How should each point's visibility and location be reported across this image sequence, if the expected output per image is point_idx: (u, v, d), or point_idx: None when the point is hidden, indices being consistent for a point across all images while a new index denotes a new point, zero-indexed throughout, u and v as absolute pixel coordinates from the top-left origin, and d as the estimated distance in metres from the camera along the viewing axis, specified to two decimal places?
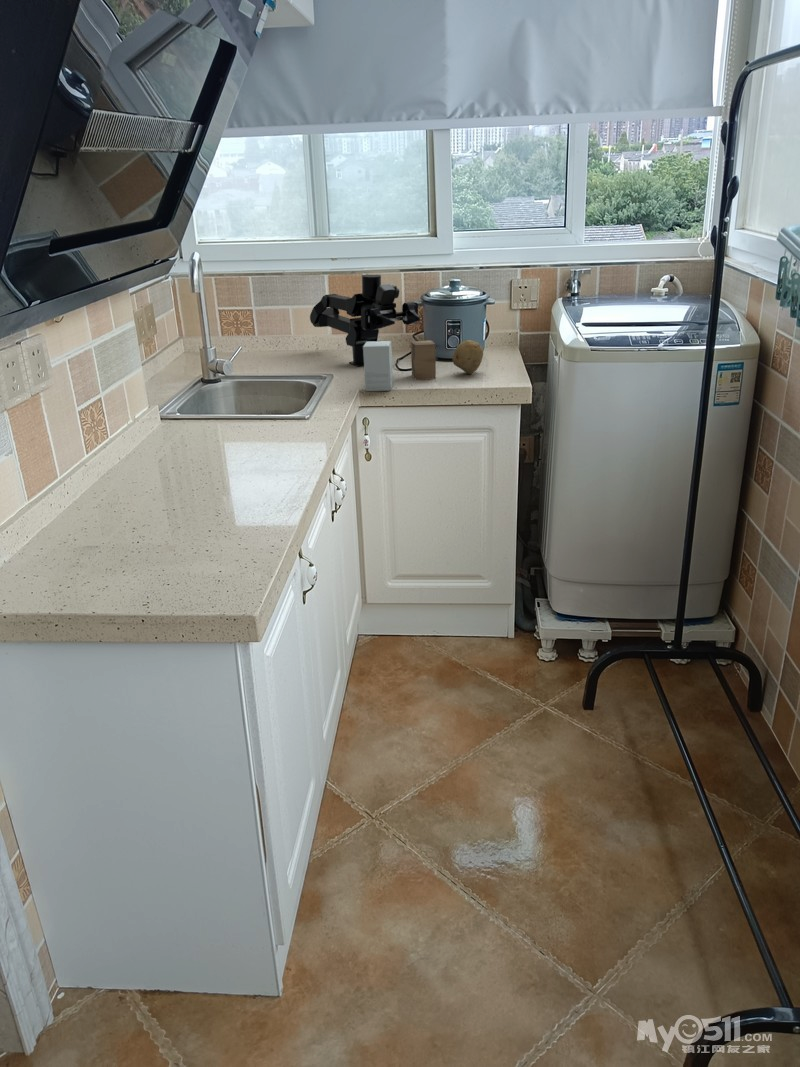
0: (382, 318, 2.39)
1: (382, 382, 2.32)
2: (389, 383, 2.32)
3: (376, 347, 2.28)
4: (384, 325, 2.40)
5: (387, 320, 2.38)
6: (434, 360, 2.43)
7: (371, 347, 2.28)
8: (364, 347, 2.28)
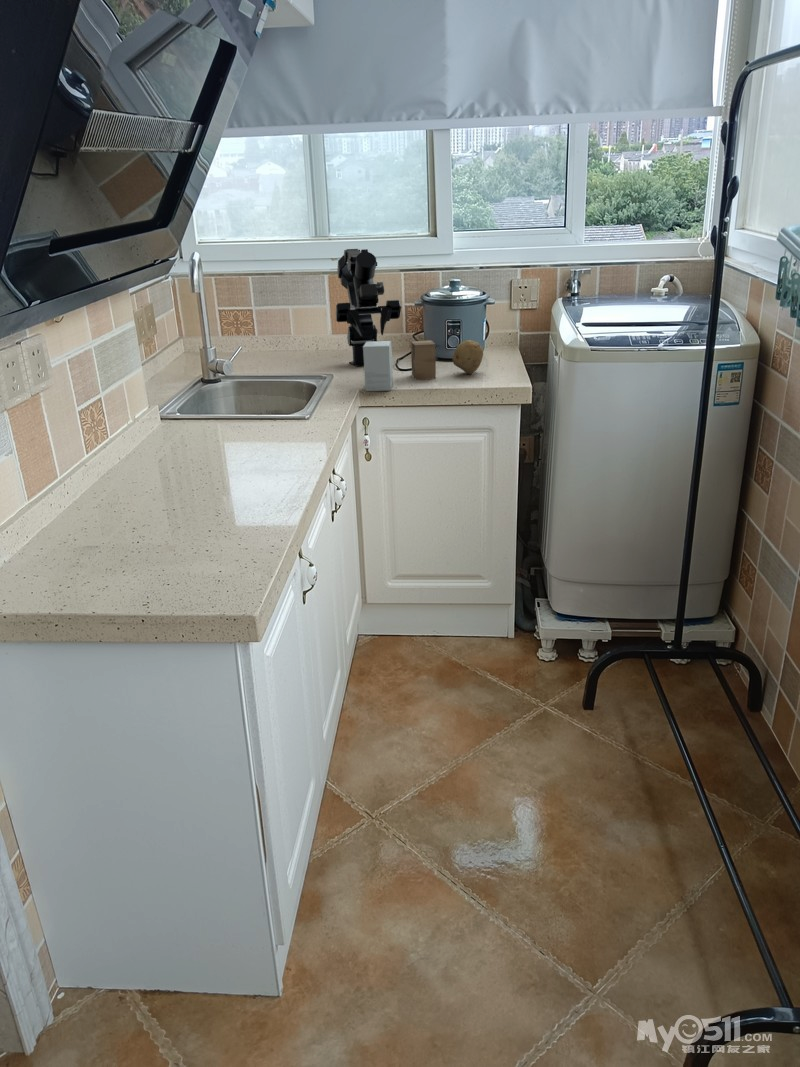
0: (356, 324, 2.40)
1: (382, 382, 2.32)
2: (389, 383, 2.32)
3: (376, 347, 2.28)
4: (357, 330, 2.41)
5: (359, 330, 2.39)
6: (434, 360, 2.43)
7: (371, 347, 2.28)
8: (364, 347, 2.28)
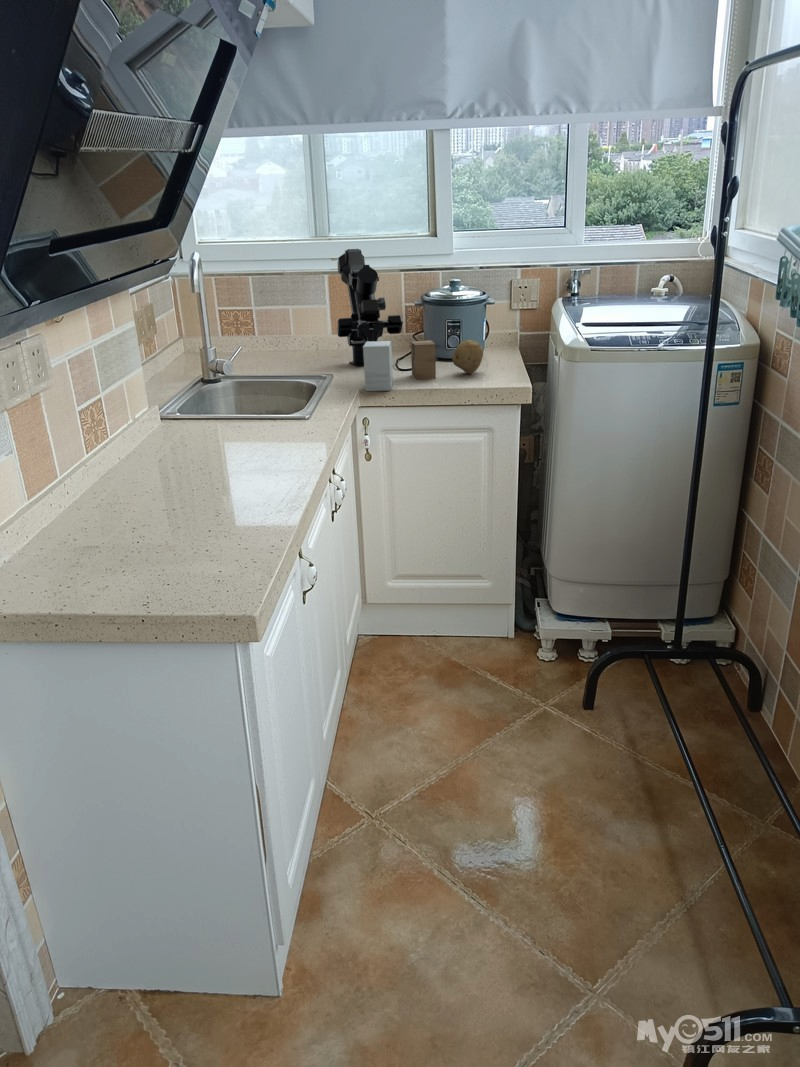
0: (367, 339, 2.40)
1: (382, 382, 2.32)
2: (389, 383, 2.32)
3: (376, 347, 2.28)
4: None
5: None
6: (434, 360, 2.43)
7: (371, 347, 2.28)
8: (364, 347, 2.28)
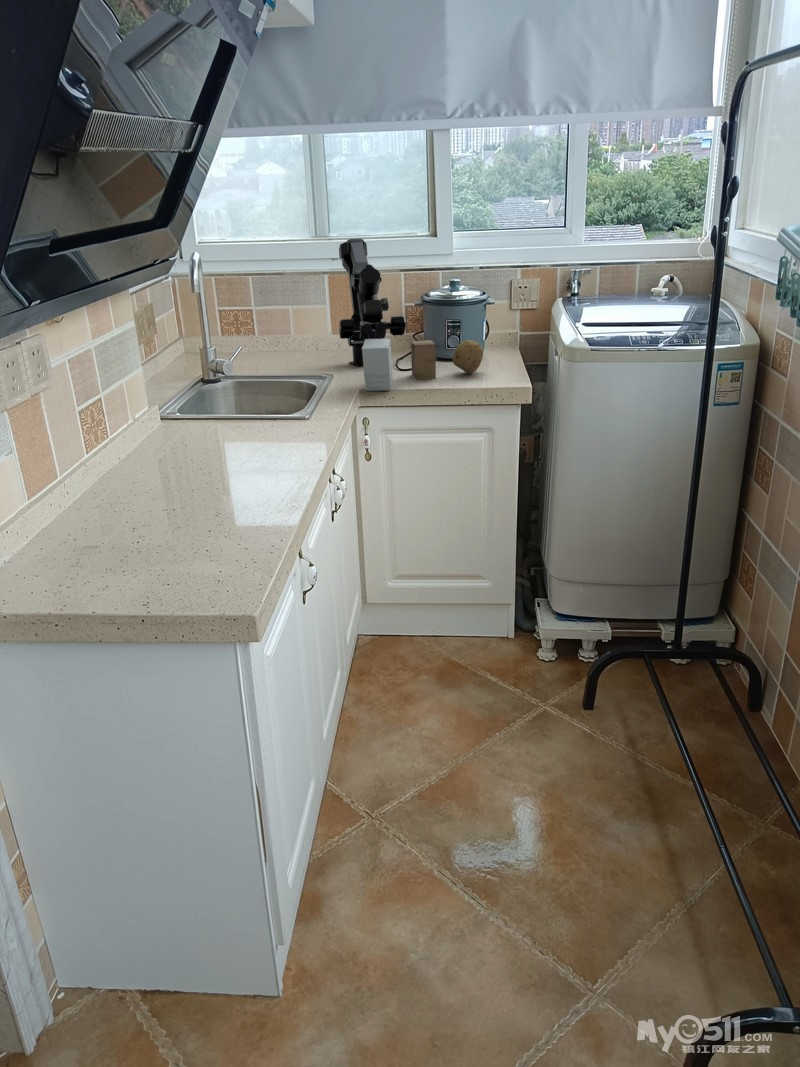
0: None
1: (382, 383, 2.31)
2: (389, 383, 2.31)
3: (375, 349, 2.26)
4: None
5: None
6: (434, 360, 2.43)
7: (370, 349, 2.26)
8: (363, 349, 2.26)
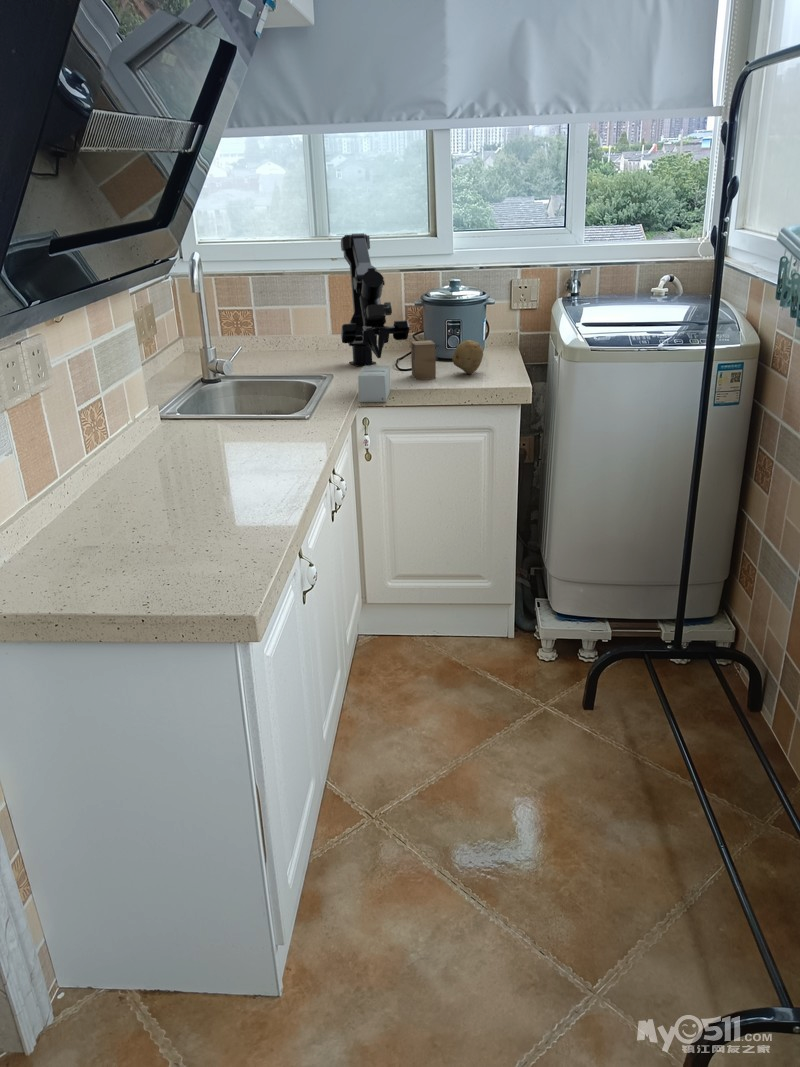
0: (372, 345, 2.30)
1: None
2: (388, 392, 2.30)
3: None
4: (373, 351, 2.32)
5: (375, 351, 2.30)
6: (434, 360, 2.43)
7: (367, 401, 2.22)
8: (360, 401, 2.22)
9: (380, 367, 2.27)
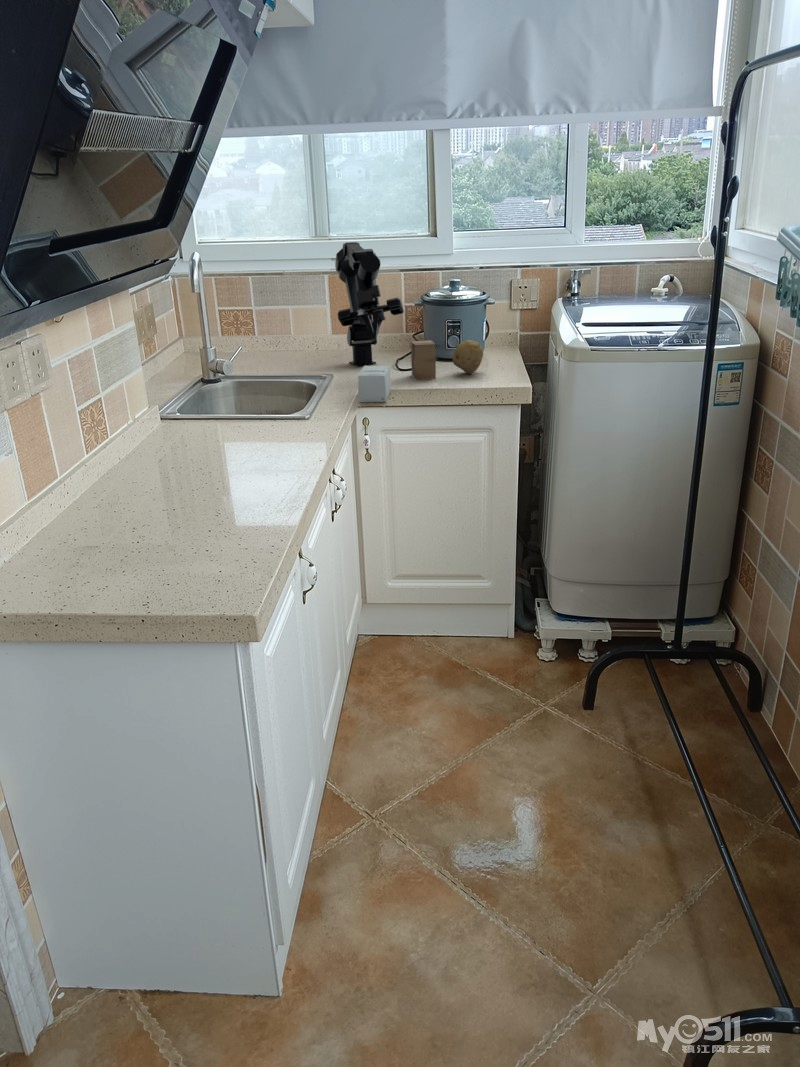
0: (367, 328, 2.42)
1: None
2: (388, 392, 2.30)
3: None
4: None
5: (370, 334, 2.42)
6: (434, 360, 2.43)
7: (367, 401, 2.22)
8: (360, 401, 2.22)
9: (380, 367, 2.27)
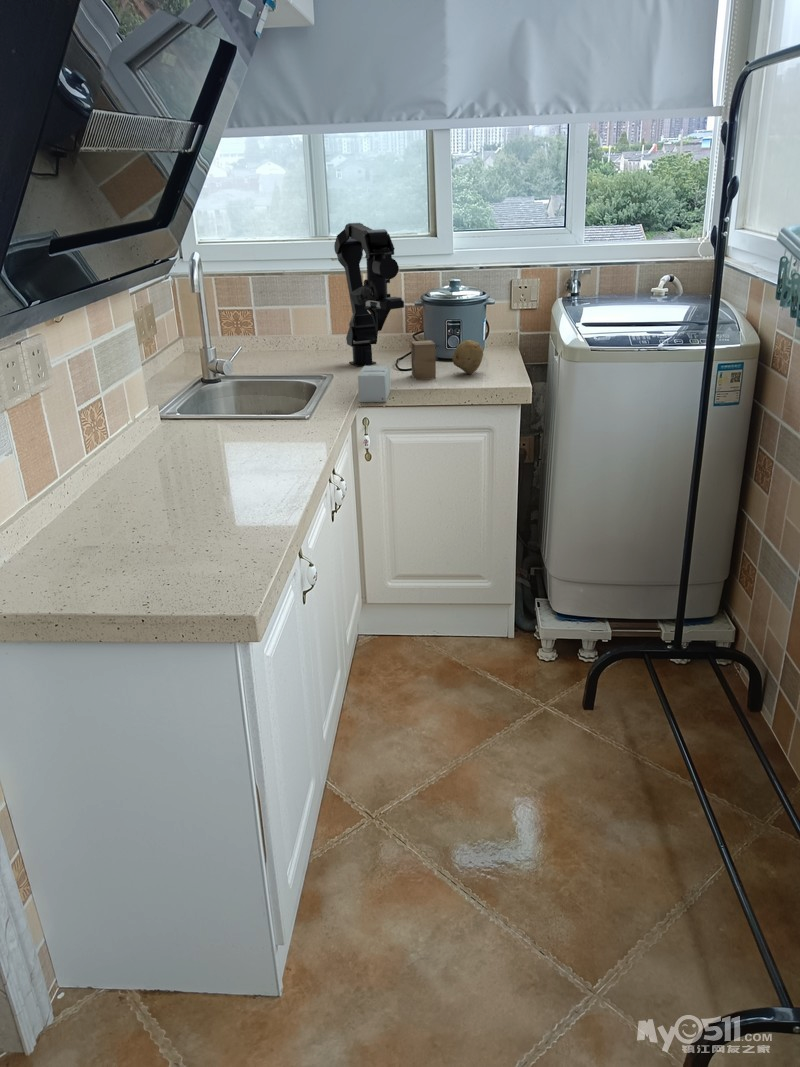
0: None
1: None
2: (388, 392, 2.30)
3: None
4: None
5: None
6: (434, 360, 2.43)
7: (367, 401, 2.22)
8: (360, 401, 2.22)
9: (380, 367, 2.27)
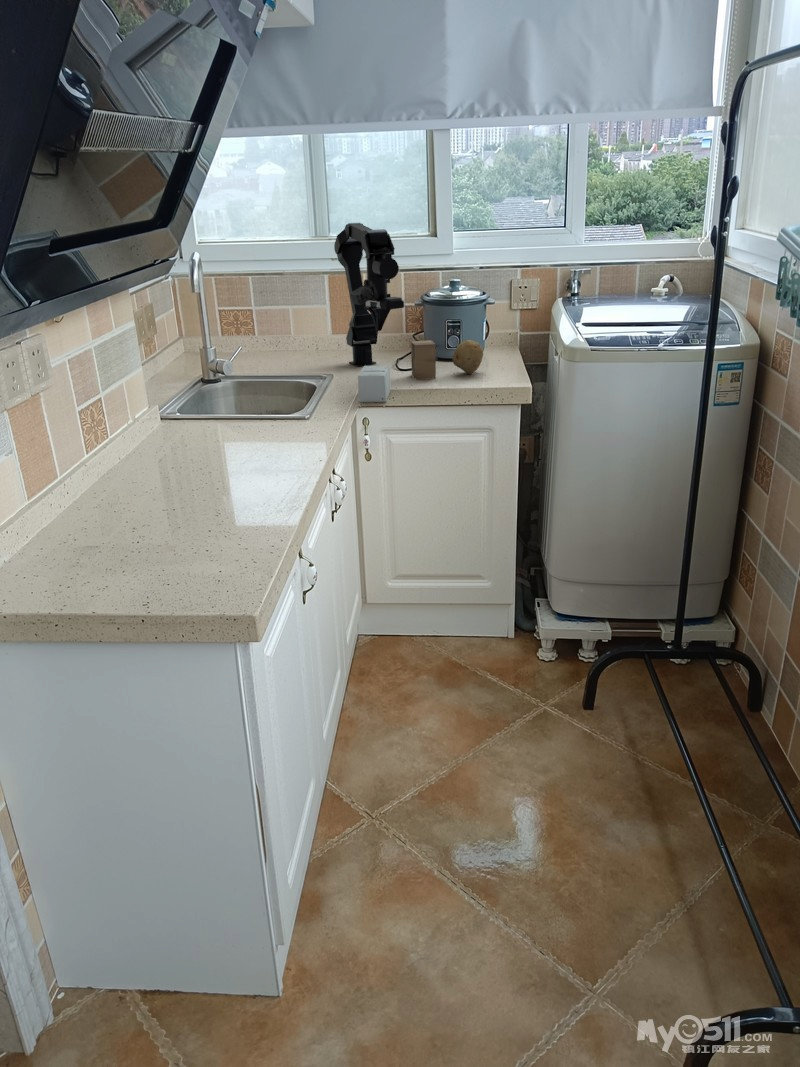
0: None
1: None
2: (388, 392, 2.30)
3: None
4: None
5: None
6: (434, 360, 2.43)
7: (367, 401, 2.22)
8: (360, 401, 2.22)
9: (380, 367, 2.27)
